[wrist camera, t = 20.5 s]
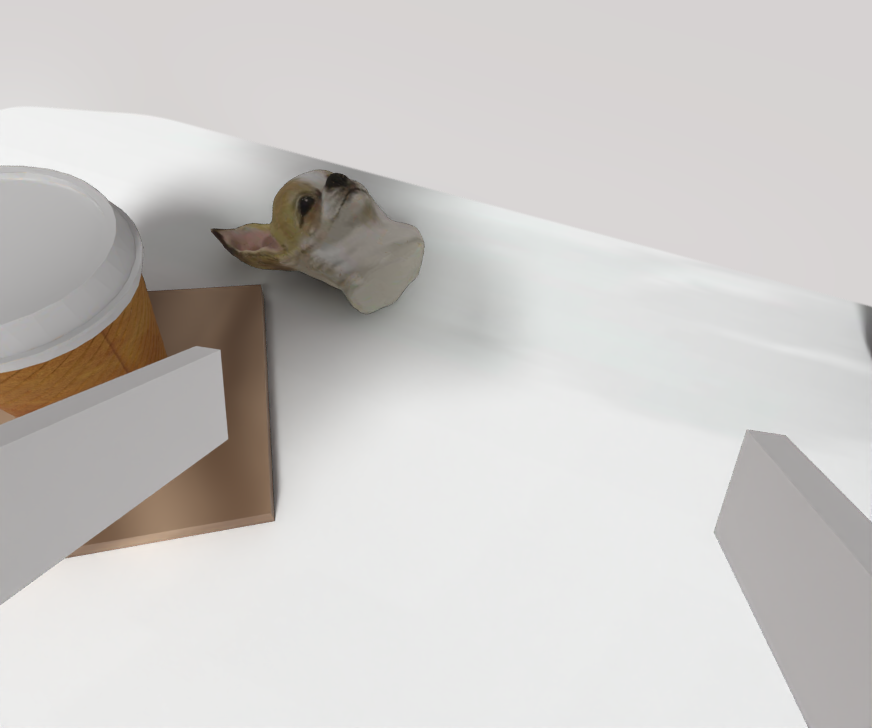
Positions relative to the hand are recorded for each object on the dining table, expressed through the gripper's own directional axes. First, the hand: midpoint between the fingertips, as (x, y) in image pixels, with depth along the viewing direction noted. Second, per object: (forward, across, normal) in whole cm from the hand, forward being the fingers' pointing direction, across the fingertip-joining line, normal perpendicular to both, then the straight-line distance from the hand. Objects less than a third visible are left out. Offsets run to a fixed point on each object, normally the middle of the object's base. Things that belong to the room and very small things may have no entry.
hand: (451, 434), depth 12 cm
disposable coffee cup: (+10, -21, -7) cm, 24 cm away
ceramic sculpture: (+24, -14, 0) cm, 28 cm away
